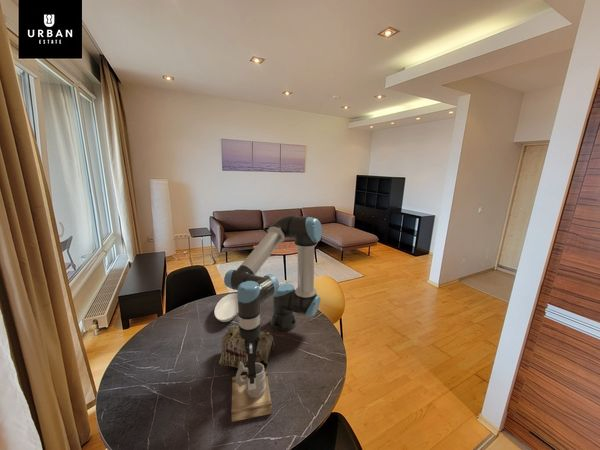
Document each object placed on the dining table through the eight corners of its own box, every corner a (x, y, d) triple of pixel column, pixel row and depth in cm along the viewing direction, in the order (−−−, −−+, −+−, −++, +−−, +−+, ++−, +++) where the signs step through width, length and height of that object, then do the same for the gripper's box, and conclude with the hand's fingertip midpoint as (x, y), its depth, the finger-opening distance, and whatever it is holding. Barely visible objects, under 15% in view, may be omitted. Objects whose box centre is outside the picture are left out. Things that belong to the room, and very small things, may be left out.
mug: (263, 400, 91) (263, 373, 88) (232, 396, 92) (231, 369, 89) (268, 383, 98) (268, 357, 96) (239, 380, 99) (238, 354, 97)
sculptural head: (277, 321, 124) (228, 313, 123) (273, 341, 102) (214, 332, 102) (272, 354, 124) (223, 347, 124) (267, 381, 103) (208, 373, 102)
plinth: (266, 378, 104) (266, 370, 103) (271, 413, 89) (271, 404, 88) (232, 384, 101) (232, 376, 100) (231, 422, 86) (231, 412, 85)
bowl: (236, 329, 136) (236, 319, 135) (209, 329, 135) (208, 319, 134) (245, 301, 165) (245, 293, 164) (222, 301, 164) (222, 293, 163)
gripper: (238, 306, 99) (240, 351, 104) (239, 349, 76) (241, 405, 80) (257, 304, 101) (258, 348, 106) (263, 346, 77) (264, 400, 82)
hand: (251, 373), depth 93 cm, fingers open, 13 cm apart
